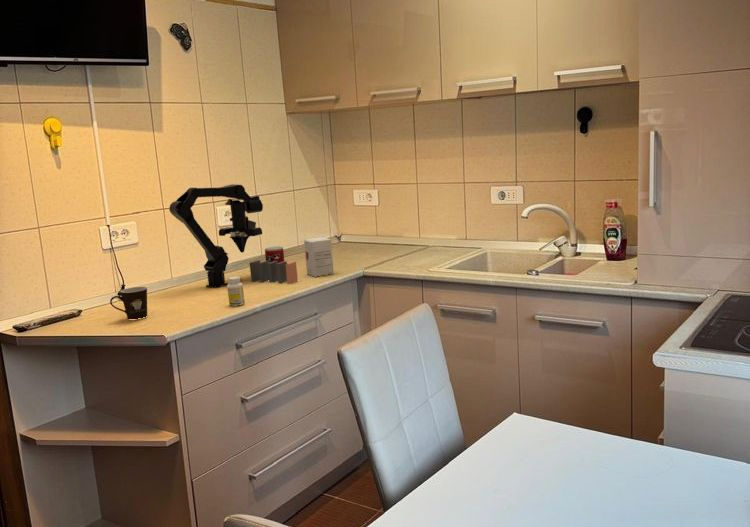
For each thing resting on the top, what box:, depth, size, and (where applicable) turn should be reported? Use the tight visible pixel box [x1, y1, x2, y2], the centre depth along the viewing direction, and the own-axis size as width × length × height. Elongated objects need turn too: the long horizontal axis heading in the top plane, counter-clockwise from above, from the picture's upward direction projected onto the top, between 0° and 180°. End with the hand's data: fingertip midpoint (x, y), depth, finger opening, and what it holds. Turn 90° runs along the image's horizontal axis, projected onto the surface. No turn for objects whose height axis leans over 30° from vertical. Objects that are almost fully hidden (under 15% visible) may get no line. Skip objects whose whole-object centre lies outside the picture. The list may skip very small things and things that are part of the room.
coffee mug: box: [109, 286, 148, 320], centre depth 239 cm, size 12×9×10 cm
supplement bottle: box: [226, 276, 245, 307], centre depth 249 cm, size 5×5×10 cm
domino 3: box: [267, 261, 278, 283], centre depth 284 cm, size 5×2×8 cm, turn 152°
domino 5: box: [286, 261, 299, 284], centre depth 280 cm, size 5×2×8 cm, turn 152°
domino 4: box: [276, 260, 288, 284], centre depth 282 cm, size 5×2×8 cm, turn 152°
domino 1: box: [249, 259, 261, 283], centre depth 289 cm, size 5×2×8 cm, turn 152°
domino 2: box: [258, 260, 269, 283], centre depth 287 cm, size 5×2×8 cm, turn 152°
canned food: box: [264, 245, 285, 263], centre depth 302 cm, size 8×8×11 cm
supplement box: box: [303, 236, 335, 278], centre depth 292 cm, size 9×9×15 cm
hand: (242, 252), depth 290 cm, fingers closed
